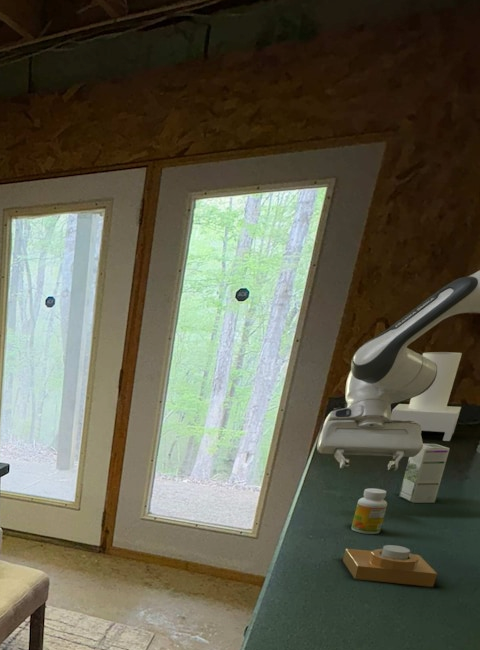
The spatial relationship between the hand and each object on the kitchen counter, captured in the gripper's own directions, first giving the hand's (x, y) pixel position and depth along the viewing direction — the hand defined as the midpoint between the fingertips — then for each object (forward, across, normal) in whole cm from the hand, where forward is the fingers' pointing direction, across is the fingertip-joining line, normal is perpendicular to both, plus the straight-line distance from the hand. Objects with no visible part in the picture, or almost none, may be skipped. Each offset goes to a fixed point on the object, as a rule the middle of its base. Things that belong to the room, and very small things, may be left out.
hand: (368, 468), depth 148 cm
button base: (+36, +3, +18) cm, 40 cm away
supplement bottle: (+16, 0, -3) cm, 16 cm away
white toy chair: (-79, -46, -98) cm, 134 cm away
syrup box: (-7, -18, -25) cm, 32 cm away
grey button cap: (+34, +3, +23) cm, 41 cm away
